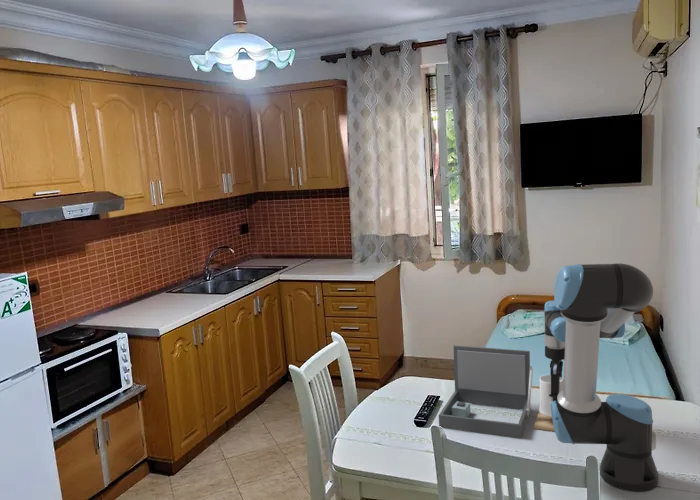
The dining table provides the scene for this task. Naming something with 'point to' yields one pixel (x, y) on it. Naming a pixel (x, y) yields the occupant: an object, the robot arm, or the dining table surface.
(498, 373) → the case
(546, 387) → the mug
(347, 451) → the dining table surface
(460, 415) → the block
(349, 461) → the dining table surface
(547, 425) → the mat
